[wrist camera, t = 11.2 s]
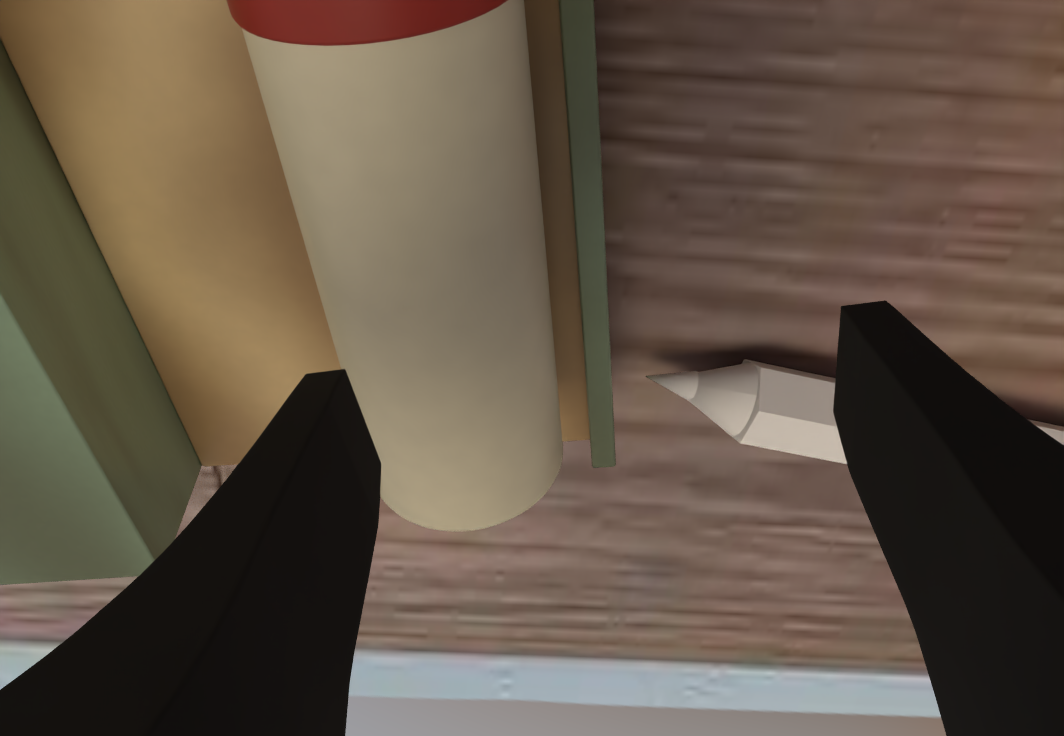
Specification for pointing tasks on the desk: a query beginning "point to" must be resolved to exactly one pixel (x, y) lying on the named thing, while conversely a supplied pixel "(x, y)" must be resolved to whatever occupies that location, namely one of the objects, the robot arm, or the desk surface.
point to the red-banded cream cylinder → (423, 237)
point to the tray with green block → (203, 267)
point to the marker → (774, 407)
